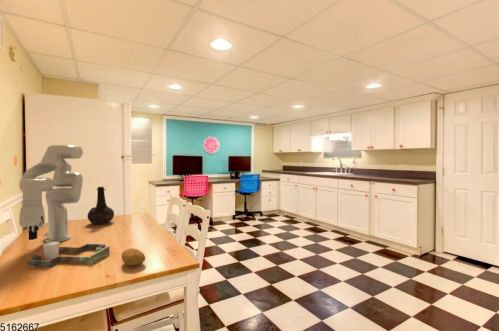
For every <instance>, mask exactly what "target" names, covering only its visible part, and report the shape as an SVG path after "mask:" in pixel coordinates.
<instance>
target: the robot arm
mask: <svg viewBox="0 0 499 331" xmlns="http://www.w3.org/2000/svg"><path fill="white" fill-rule="evenodd" d="M83 155H84V150H83V148H82V147H81V146H80V145H72V144H51V145H49V146H48V147H47V148H46V150H45V152H44V154H43V156H42V158H41V160H40V162H38V163H36V164H34V165H33V166H32V167H29V168H28V169H26V170H25V171H24V174H23V175H22V177H21V179H20V182H19V189H20V190H21V192H22V202H21V203H22V206H21V207H20V212H19V219H18V220H19V222H18V224H19V226H21V227H22V228H23V229H26V231H27V232H28V241H30V240H31V241H33V240H36V239H38V231H39V229H42V228H44V224H45V221H46V220H45V219H46V217H45V209H44V205H43V192H44V193H45V196H44V198H45V201H46V206H47V220H48V222H47V223H48V226H47V228H48V229H47V230H48V231H46V232H45V233H44V234H43V237H46V238H45V243H48V242H55V241H58V242H64V241H68V240H70V239H71V238H72V235H70V234H69V233H68V232H69V231H68V230H69V229H68V208H67V207H66V206H65V205H64V204H77V203H79V201H80V199H81V194H82V189H83V182H84V178H83V175H82V173H81V172H75V171H74V172H72V165H71V164H70V162H69V161H67V160H68V159H69V160H76V159H77V160H78V159H81V158H82V156H83ZM51 172H53V176H52V178H50V177H39V176H42V175H45V174H48V173H51Z"/></svg>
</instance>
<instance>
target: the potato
mask: <svg viewBox="0 0 499 331" xmlns="http://www.w3.org/2000/svg"><path fill="white" fill-rule="evenodd" d="M121 261H122V262H123V264H125V265H128V266H132V267H133V266H134V267H135V266H139V265H142V264H143V263H144V262H145V261H146V255H145V254H144V253H143V251H141V250H140V249H137V248H128V249H125V250H124V251H123V252H122V253H121Z"/></svg>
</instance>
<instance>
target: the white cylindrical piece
mask: <svg viewBox="0 0 499 331" xmlns="http://www.w3.org/2000/svg"><path fill="white" fill-rule="evenodd" d="M59 247H60V242H58V241H55V242H44V244H42V248H43V255H44V256H43V257H44V259H45V260H51V259H53V258H55V257H58V256H60V255H59V254H60V253H59Z"/></svg>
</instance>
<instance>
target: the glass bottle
mask: <svg viewBox="0 0 499 331" xmlns="http://www.w3.org/2000/svg"><path fill="white" fill-rule="evenodd" d="M106 189H107V188H106ZM106 189H105V187H104V186H98V187H97V189H96V191H97V199H96V201H97V202H96V206H95V207H92V208H91V209H89V211H88V213H87V220H88V221H89V222H90V223H91V224H93V225H97V226H99V225H106V224H109V223H110V222H111V221H112V220H113V219H114V217H115V211H114V210H113V209H112V208H111V207H109V206H108V205H107V200H106V197H105V190H106Z"/></svg>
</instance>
